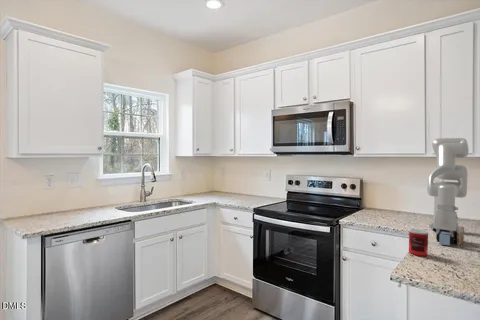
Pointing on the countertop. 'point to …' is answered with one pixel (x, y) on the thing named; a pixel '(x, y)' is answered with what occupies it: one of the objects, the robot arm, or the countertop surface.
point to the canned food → (418, 242)
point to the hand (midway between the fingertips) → (444, 242)
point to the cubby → (458, 236)
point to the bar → (444, 238)
